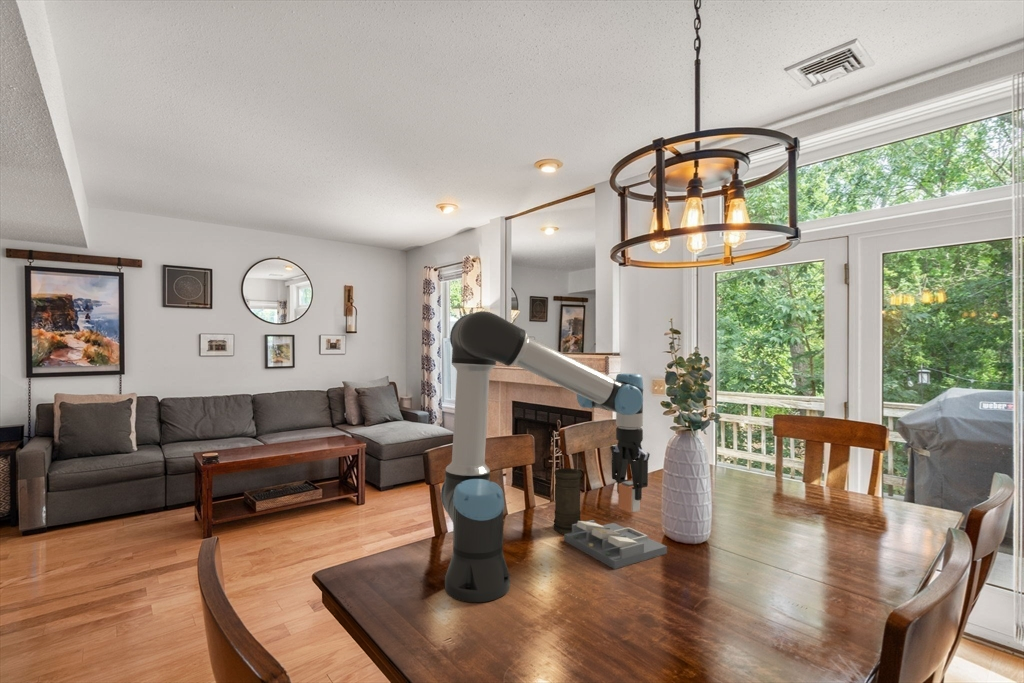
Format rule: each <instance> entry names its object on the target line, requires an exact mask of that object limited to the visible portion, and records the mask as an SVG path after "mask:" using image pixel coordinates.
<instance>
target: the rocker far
mask: <svg viewBox="0 0 1024 683" xmlns="http://www.w3.org/2000/svg"><path fill="white" fill-rule="evenodd" d="M577 527H579V528H581V529H583V530H585V531H592V529H593V528H594V529H595V528H598V529H601V528H605V527H603V526H602V525H601V524H600V523H597V522H595V523H592V522H586V521H584V520H581V521H578V522H577Z"/></svg>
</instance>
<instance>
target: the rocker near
mask: <svg viewBox="0 0 1024 683" xmlns="http://www.w3.org/2000/svg"><path fill="white" fill-rule="evenodd" d="M608 542H609V543H611V544H613V545H615V546H617V547H626V546H630V545H634V544H637V543H638V542H636V541H633V540H631V539H629V538H625V537H616V536H609V538H608Z"/></svg>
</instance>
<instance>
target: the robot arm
mask: <svg viewBox="0 0 1024 683" xmlns="http://www.w3.org/2000/svg"><path fill="white" fill-rule="evenodd" d="M449 340H450V342H449V343H450V346H451V348H452V351H451V365H452V367H454V368H455V369H456V380H455V382H456V383H455V397H454V398H455V400H454V401H455V402H454V417H453V418H454V420H453V436H452V451H451V452H452V453H451V454H452V455H451V461H450V463H449V464H448V465H447V466H445V474H444V482H443V483H442V485H441V490H440V498H441V499H440V500H441V504H442V507H443V508H444V510H445V512H446V513H447V515H448V516H449V518H450V520H451V522H452V526H453V528H452V531H453V532H452V533H453V535H452V537H453V538H452V555H451V558H450V562H449V564H448V567H447V571H446V573H445V576H444V590H445V593H446V594H447V595H448V596H449V597H452V598H453V599H456V600H458V601H463V602H465V603H466V602H467V603H486V602H490V601H491V602H492V601H495V600H497V599H501V598H502V597H503V596H505V595H506V594H507V593H508V592H509V590H510V586H511V575H510V571H509V569H508V565H507V563H506V559H505V555H504V507H505V498H504V491H503V489H502V487H501V486H500V485H499V484H498V483H496V482H494V481H490V479H491V478H490V477H491V469H490V467H488V465H487V464H486V460H485V459H486V446H487V445H486V444H487V442H486V441H487V426H488V411H489V410H488V408H489V392H490V391H489V386H490V372H491V371H492V370H493V369H495V367H496V366H497V363H500V364H502V365H505V366H508V367H511V366H514V365H515V366H516V367H519V368H520V369H521V368H522V369H523V370H525V371H528V372H530V373H532V374H533V375H535V376H538V377H540V378H542V379H545V380H547V381H549V382H551V383H553V384H555V385H558V386H560V387H562V388H564V389H566V390H569V391H570V392H572V393H574V394H576V400H577V404H578V405H579V406H580V407H581V408H584V409H601V410H605V411H608V412H614V413H615V425H616V426H617V427H616V430H615V440H616V441H617V443H616V444H614V445H610V447H609V448H610V451H611V478H612V480H614V481H616V483H617V485H616V486H617V488H616V490H617V491H616V492H617V493H618V484H621V483H622V482H625V481H628V480H626V477H627V472H628V467H629V465H630V472H631V473H630V474H631V478H632V479H631V481H633V486H634V487H632V488H631V511H632V512H631V513H634V512H639V511H641V510H640V500H641V501H642V495H643V494H642V491H643V490H642V489H643V488H647V487H648V484H649V483H648V481H649V479H648V476H649V459H650V455H651V454H650V452H646V451H644V450H643V448H642V442H643V441H644V440H643V439H644V435H643V434H644V432H643V428H642V427H643V422H644V421H643V419H644V417H643V416H644V412H643V409H644V381H643V377H642V375H641V374H640V373H617V374H616V377H615V379H614V378H613V377H611V376H610V375H609V376H608V375H607V374H605V373H603V372H600V371H599V370H597V369H595V368H593V367H591V366H588V365H586V363H585V364H584V363H582V362H581V361H578V360H577V359H574V358H572V357H570V356H569V355H566V354H564V353H562V352H560V351H558V350H556V349H554V348H552V347H550V346H548V345H546V344H544V343H542V342H539V341H538V340H536V339H534V338H531V337H530V336H529V335H528V333H527V331H526V330H525V329H523V328H521V327H519V326H517V325H515V324H514V323H512V322H510V321H508V320H507V319H504V318H503V317H501V316H499V315H497V314H495V313H493V312H489V311H483V310H482V311H481V310H480V311H476V312H473V313H468V314H465V315H463V316H460V318H458V319H457V320H456V321H455V322H454V324H453V326H452V328H451V330H450V334H449Z"/></svg>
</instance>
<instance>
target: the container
mask: <svg viewBox="0 0 1024 683" xmlns="http://www.w3.org/2000/svg"><path fill="white" fill-rule="evenodd" d="M553 474H554V479H555V484H554V485H555V486H554V488H555V492H554V493H555V494H554V496H555V501H554V502H555V504H554V505H555V507H554V508H555V509H554V519H553V525H552V527H553V531H555V532H556V533H559V534H561V535H562V534H563V535H564V534H567V533H571V532H572V524H576V523H577V522H578V521H582V520H581V515H582V514H581V478H582V477H581V476H582V474H583V473H582V471H581V470H579V469H576V468H567V467H564V468H563V467H562V468H556V469H555V470H554V472H553Z"/></svg>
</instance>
